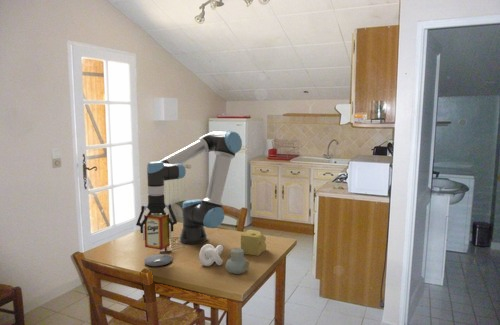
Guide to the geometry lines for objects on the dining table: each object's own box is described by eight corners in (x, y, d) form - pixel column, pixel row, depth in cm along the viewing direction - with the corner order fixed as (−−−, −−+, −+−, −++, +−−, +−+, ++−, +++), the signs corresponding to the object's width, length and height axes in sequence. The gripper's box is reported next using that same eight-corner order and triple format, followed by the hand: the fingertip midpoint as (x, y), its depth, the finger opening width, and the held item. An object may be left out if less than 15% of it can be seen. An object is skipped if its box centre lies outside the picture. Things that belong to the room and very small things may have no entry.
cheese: (266, 249, 194) (266, 231, 193) (258, 256, 185) (258, 237, 183) (248, 247, 199) (248, 229, 197) (239, 253, 189) (239, 234, 188)
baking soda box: (169, 245, 178) (169, 213, 176) (161, 249, 172) (160, 216, 170) (153, 242, 181) (152, 211, 180) (145, 247, 175) (144, 214, 174)
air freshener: (240, 277, 160) (240, 255, 159) (223, 274, 164) (223, 253, 162) (250, 268, 170) (250, 247, 169) (234, 265, 174) (234, 245, 172)
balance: (171, 246, 199) (171, 221, 198) (171, 255, 186) (170, 229, 184) (160, 247, 198) (159, 222, 197) (159, 256, 185) (158, 230, 183)
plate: (172, 256, 185) (172, 253, 185) (171, 266, 173) (171, 263, 172) (145, 258, 183) (145, 255, 183) (143, 268, 170) (143, 265, 170)
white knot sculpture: (230, 266, 173) (229, 247, 172) (206, 271, 167) (206, 252, 166) (219, 258, 183) (219, 240, 182) (197, 263, 177) (196, 245, 176)
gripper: (181, 191, 180) (182, 234, 182) (131, 193, 175) (132, 237, 178) (181, 194, 172) (182, 239, 175) (128, 196, 168) (130, 242, 170)
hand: (157, 238), depth 176 cm, fingers closed on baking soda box, 11 cm apart
